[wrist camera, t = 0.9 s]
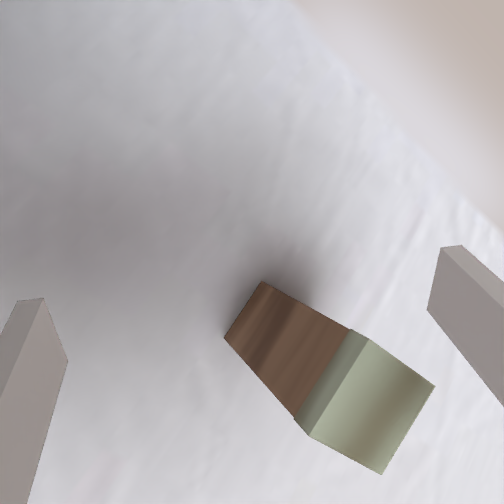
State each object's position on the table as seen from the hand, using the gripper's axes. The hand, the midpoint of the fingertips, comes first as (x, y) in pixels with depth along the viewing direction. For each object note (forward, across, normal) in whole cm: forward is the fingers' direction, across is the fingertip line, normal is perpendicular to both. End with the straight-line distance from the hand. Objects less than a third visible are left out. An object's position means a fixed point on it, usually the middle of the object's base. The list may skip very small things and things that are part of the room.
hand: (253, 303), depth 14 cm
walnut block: (+13, +3, -13) cm, 18 cm away
